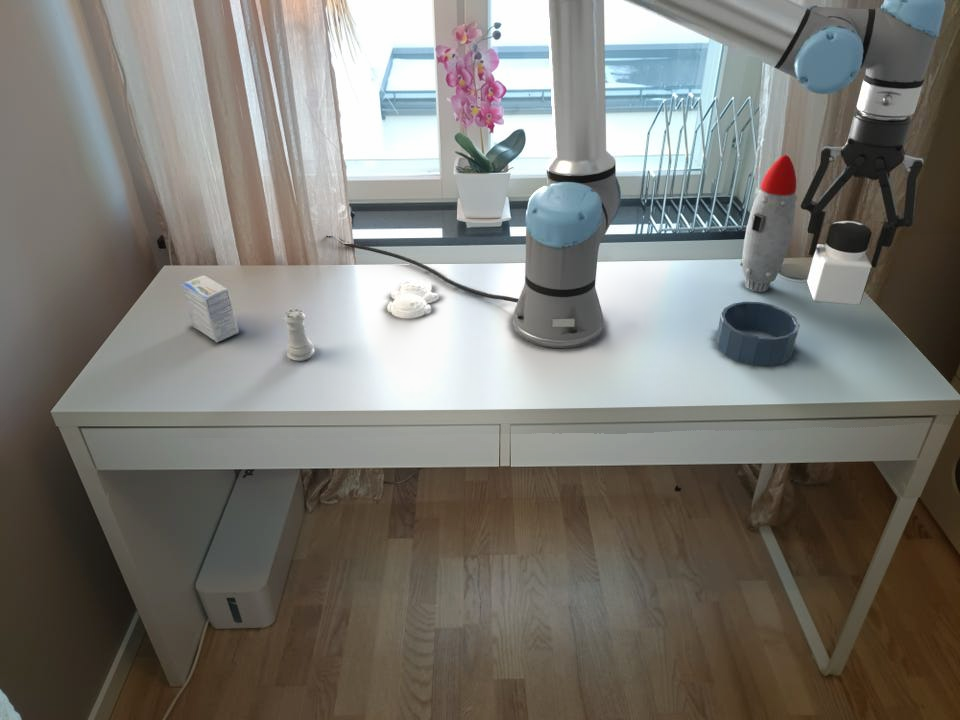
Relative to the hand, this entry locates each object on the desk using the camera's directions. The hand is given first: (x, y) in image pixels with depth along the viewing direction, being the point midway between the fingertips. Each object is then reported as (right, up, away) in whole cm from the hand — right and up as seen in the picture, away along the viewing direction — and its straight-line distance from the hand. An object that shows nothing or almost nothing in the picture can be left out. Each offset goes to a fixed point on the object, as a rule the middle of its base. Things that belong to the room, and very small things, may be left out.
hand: (842, 257), depth 118 cm
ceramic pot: (-13, -14, +3) cm, 19 cm away
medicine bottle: (0, -6, +4) cm, 7 cm away
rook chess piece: (-87, -16, +2) cm, 88 cm away
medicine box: (-103, -12, +9) cm, 104 cm away
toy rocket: (-6, -3, +20) cm, 21 cm away
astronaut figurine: (-70, -6, +17) cm, 72 cm away
